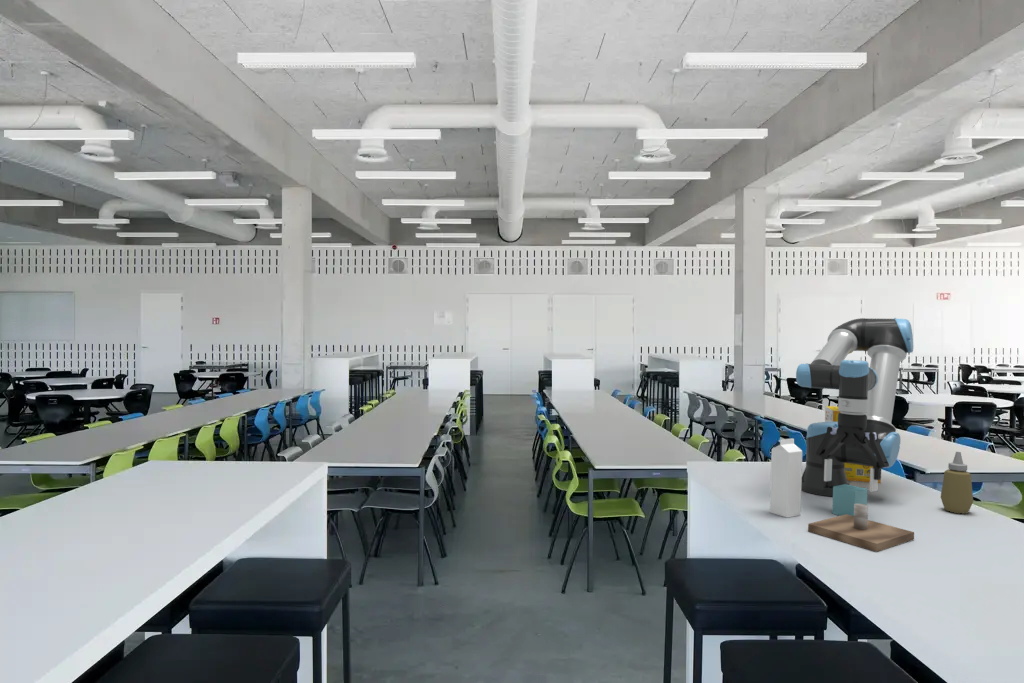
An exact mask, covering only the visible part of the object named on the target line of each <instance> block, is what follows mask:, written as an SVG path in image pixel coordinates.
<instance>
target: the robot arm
mask: <svg viewBox="0 0 1024 683" xmlns="http://www.w3.org/2000/svg"><path fill="white" fill-rule="evenodd" d="M913 335H914V334H913V329H912V324H911V322H910V320H908V319H906V318H897V317H894V318H864V317H862V318H860V317H859V318H854V319H851V320H848V321H846V322H844V323H841V324H840V325H838V326H837V327H835V328H834V329H832V331H831V332H830V333H829V335H828V337H827V341H826V344H825V345H824V346H823V347H822V348H821V349H820V351H819V353H817V355H816V356H815V357H814V359H813V360H812V361H811V363H799V365H798V366H797V368H796V372H795V381H796V383H797V385H798V386H800V388H809V389H823V390H824V389H825V390H838V400H837V401H838V404H837V405H838V406H837V407H838V410H839V411H840V413H839V414H838V422H825V421H819V422H812V423H810V424H809V425H808V426H807V430H806V431H807V432H806V437H805V438H806V451H805V454H806V455H805V458H806V459H805V467H804V470H803V473H802V483H801V491H802V492H803V491H804V492H806V493H809V494H812V495H813V494H814V495H818V496H826V497H833V487H834V486H839V485H843V484H848V485H850V483H849V481H848V480H847V477H846V473H845V469H844V467H845V463H851V464H858V465H865V466H872V467H873V468H870V482H869V492H877V491H878V486H879V483H878V480H880V479H882V469H890V468H892V467H893V466H894V465H895V463H896V462H897V460H898V456H899V452H900V449H901V448H900V447H901V446H900V445H901V434H900V433H899V432H897V428H896V427H895V425H893V424H892V420H893V416H894V415H893V414H894V407H895V400H896V393H897V386H898V380H899V379H898V378H899V373H900V372H899V371H900V365H901V362H903V361H904V360H905V359H906V358H907V355H908V354H912V353H913V351H914V337H913ZM853 352H866V353H867V356H869V358H870V362H868V361H867V360H854V359H851V360H849V359H846V357H847V356H848V355H849V354H852V353H853ZM869 363H870V364H869Z"/></svg>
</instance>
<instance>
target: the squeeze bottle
mask: <svg viewBox="0 0 1024 683" xmlns="http://www.w3.org/2000/svg"><path fill="white" fill-rule="evenodd" d="M947 468H948V469H946V470H944V473H943V477H942V478H943V479H942V486H941V491H940V500H941V502H942V507H943V509H944V510H945V511H947V512H949V511H950V513H953V512H954V514H960V513H962V514H963V515H964V514H968V513H969V512H970V509H972V508H971V507H972V506H973V503H974V495H973V493H974V492H973V484H972V483H973V482H972V474H971V473H970V472H968V465H967V464H965V463H964V461H963V456H962V453H961V452H960V451H955V453H954V457H953V460H952V462H948V465H947Z"/></svg>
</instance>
